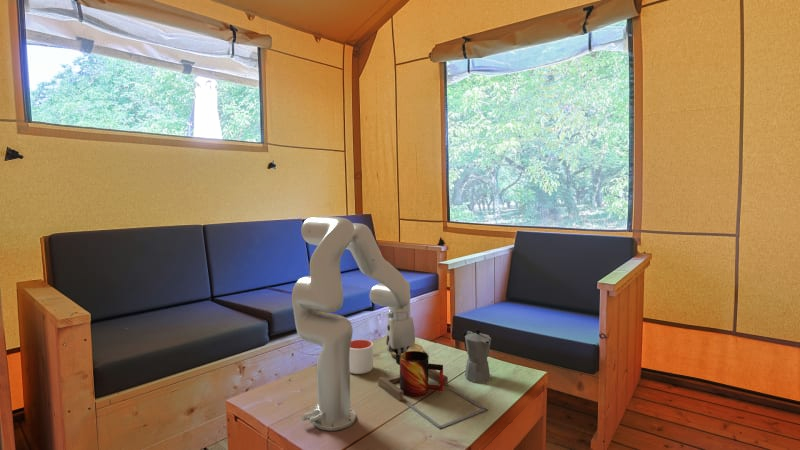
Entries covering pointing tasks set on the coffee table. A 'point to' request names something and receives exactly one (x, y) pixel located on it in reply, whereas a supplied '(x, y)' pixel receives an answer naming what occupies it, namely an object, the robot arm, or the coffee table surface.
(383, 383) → the frame
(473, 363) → the coffeepot
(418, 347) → the plant saucer
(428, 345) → the coffee table surface
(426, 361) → the mug
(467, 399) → the frame
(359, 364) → the cup
